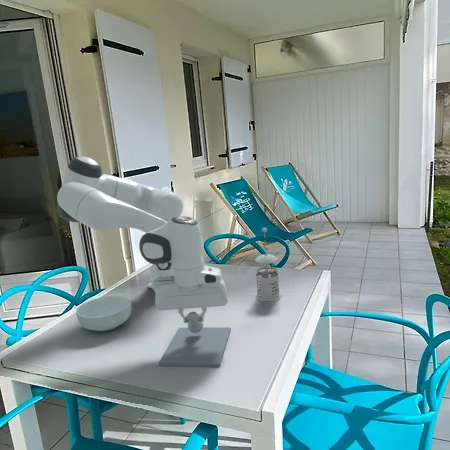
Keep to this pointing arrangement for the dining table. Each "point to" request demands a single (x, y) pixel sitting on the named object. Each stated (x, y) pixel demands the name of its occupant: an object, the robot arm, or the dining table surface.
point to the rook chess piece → (194, 322)
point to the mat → (196, 347)
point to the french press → (267, 278)
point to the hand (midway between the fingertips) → (194, 321)
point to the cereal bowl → (104, 313)
